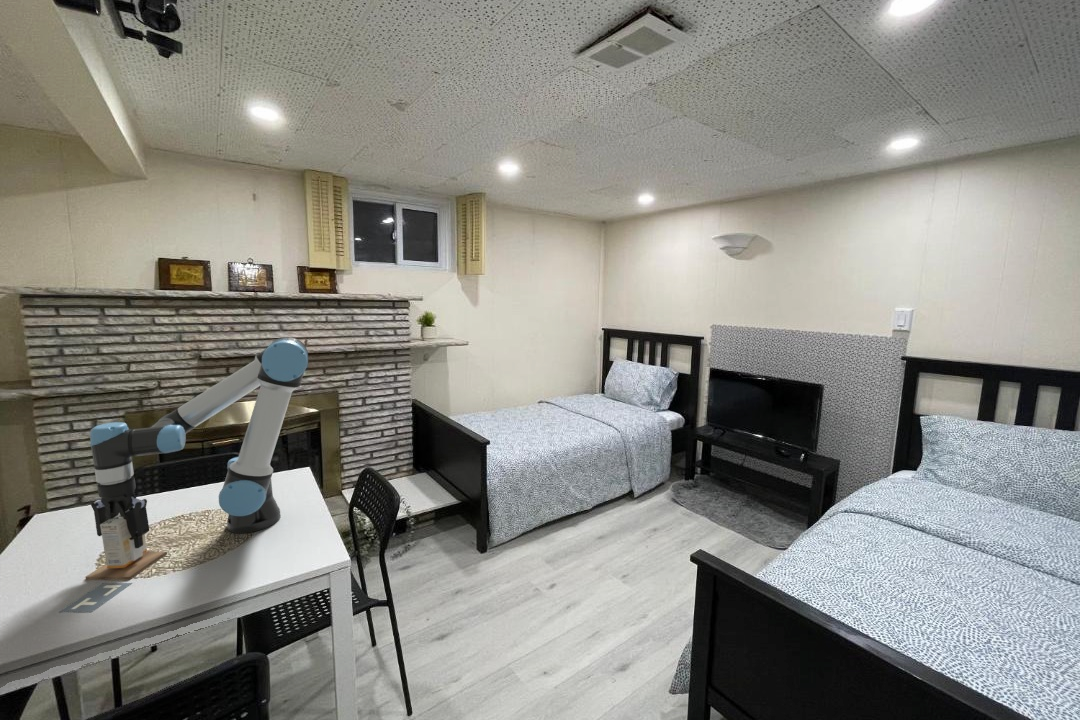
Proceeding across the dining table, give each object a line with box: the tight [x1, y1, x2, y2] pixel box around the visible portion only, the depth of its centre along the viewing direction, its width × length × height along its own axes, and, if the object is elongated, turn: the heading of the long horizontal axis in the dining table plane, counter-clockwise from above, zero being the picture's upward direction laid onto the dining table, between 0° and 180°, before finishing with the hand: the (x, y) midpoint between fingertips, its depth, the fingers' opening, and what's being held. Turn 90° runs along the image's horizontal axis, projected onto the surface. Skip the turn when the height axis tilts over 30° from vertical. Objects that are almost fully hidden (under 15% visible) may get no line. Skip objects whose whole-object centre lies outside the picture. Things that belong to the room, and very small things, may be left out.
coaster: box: [84, 550, 168, 581], centre depth 127 cm, size 12×12×1 cm
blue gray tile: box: [58, 582, 133, 613], centre depth 114 cm, size 8×11×1 cm
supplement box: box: [100, 510, 148, 568], centre depth 126 cm, size 8×5×13 cm, turn 5°
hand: (127, 557), depth 126 cm, fingers closed on supplement box, 5 cm apart
